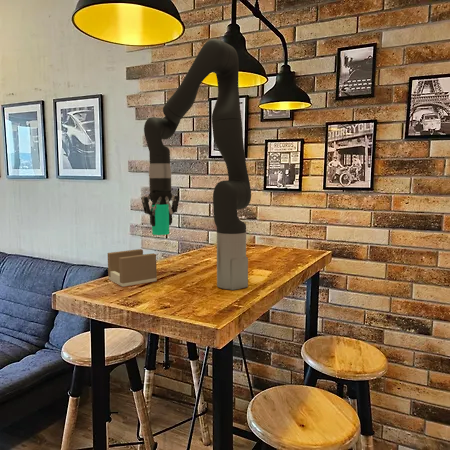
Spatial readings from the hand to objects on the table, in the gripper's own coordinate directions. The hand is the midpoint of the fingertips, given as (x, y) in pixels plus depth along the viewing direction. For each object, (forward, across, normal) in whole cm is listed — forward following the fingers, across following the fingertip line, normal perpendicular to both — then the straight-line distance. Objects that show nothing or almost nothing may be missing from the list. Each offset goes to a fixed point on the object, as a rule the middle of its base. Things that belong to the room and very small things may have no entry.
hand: (161, 225), depth 145 cm
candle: (+3, 0, 0) cm, 3 cm away
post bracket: (+17, -12, -2) cm, 21 cm away
